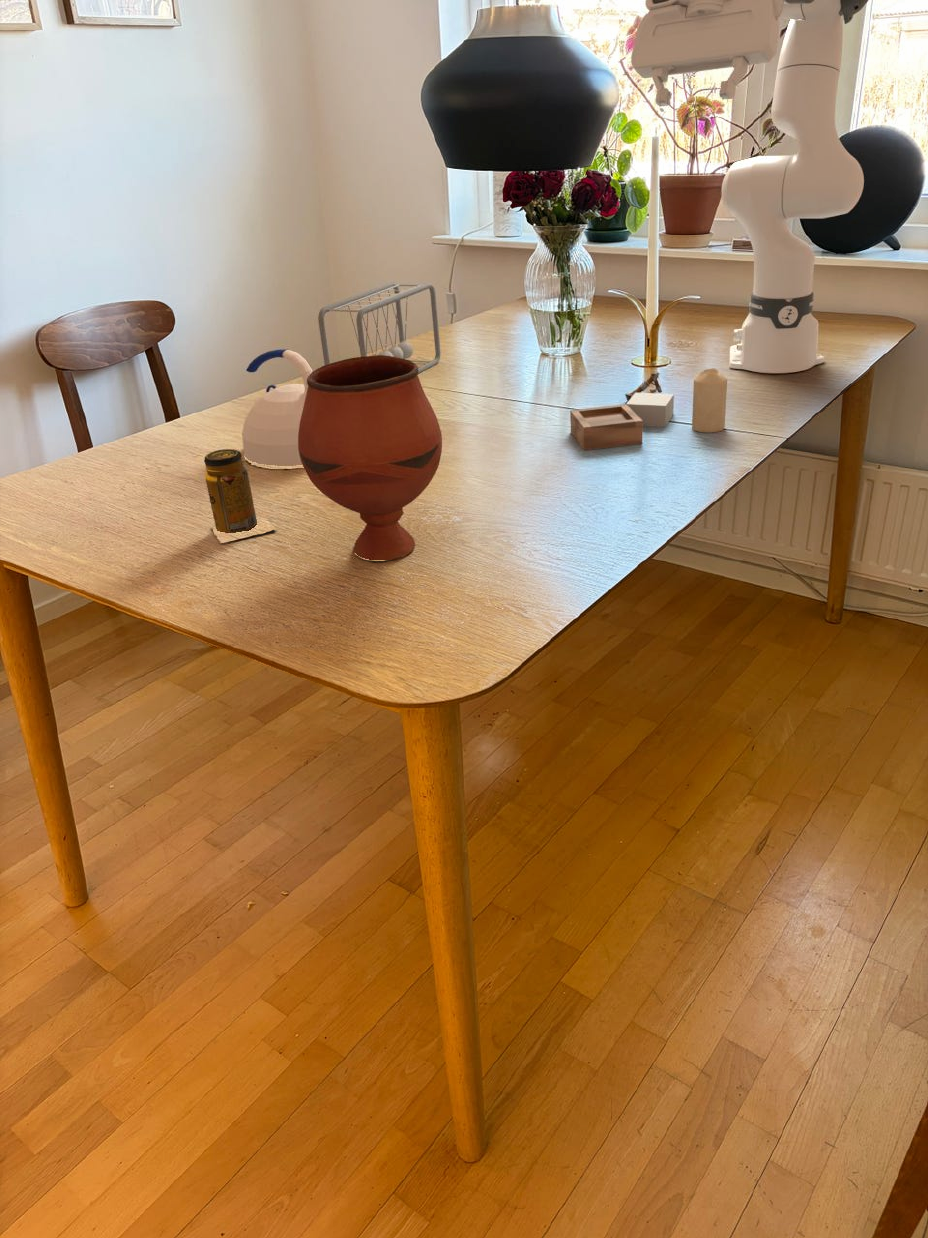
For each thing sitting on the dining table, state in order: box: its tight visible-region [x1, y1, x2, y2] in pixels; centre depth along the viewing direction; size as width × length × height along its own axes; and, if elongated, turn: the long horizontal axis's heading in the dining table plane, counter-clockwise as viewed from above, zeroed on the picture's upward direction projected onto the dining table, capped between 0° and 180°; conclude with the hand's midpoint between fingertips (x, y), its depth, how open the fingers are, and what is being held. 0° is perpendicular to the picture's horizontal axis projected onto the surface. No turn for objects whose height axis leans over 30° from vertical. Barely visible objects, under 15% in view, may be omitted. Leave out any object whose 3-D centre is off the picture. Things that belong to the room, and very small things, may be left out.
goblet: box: [298, 354, 443, 561], centre depth 130 cm, size 19×19×25 cm
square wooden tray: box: [569, 403, 644, 451], centre depth 169 cm, size 10×10×4 cm
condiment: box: [203, 448, 257, 533], centre depth 143 cm, size 7×8×12 cm
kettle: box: [241, 348, 314, 466], centre depth 172 cm, size 20×21×18 cm
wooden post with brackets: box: [624, 371, 663, 402], centre depth 187 cm, size 2×8×4 cm, turn 122°
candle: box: [691, 368, 728, 434], centre depth 168 cm, size 6×6×10 cm
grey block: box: [626, 392, 675, 428], centre depth 176 cm, size 7×7×4 cm
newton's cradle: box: [317, 281, 441, 375], centre depth 210 cm, size 30×10×18 cm, turn 151°
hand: (693, 100), depth 135 cm, fingers open, 8 cm apart
